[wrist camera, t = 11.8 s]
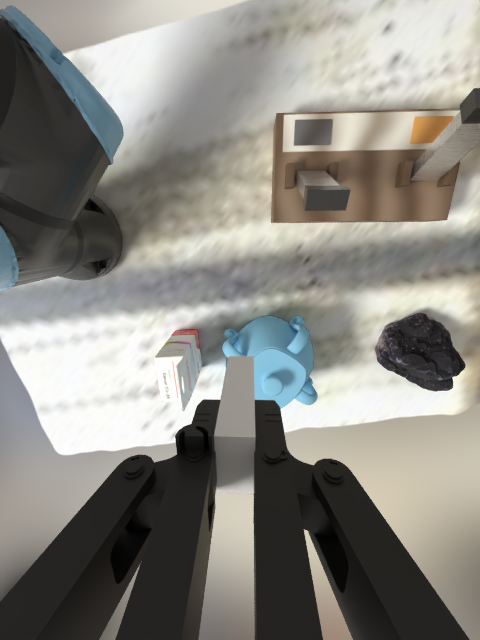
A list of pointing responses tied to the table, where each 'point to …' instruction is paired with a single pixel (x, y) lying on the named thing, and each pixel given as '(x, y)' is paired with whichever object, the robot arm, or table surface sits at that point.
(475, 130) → the lever
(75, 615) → the robot arm
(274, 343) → the decorative pot
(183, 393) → the ink cartridge box
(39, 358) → the table surface
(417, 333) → the black rock
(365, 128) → the switch unit
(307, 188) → the lever
